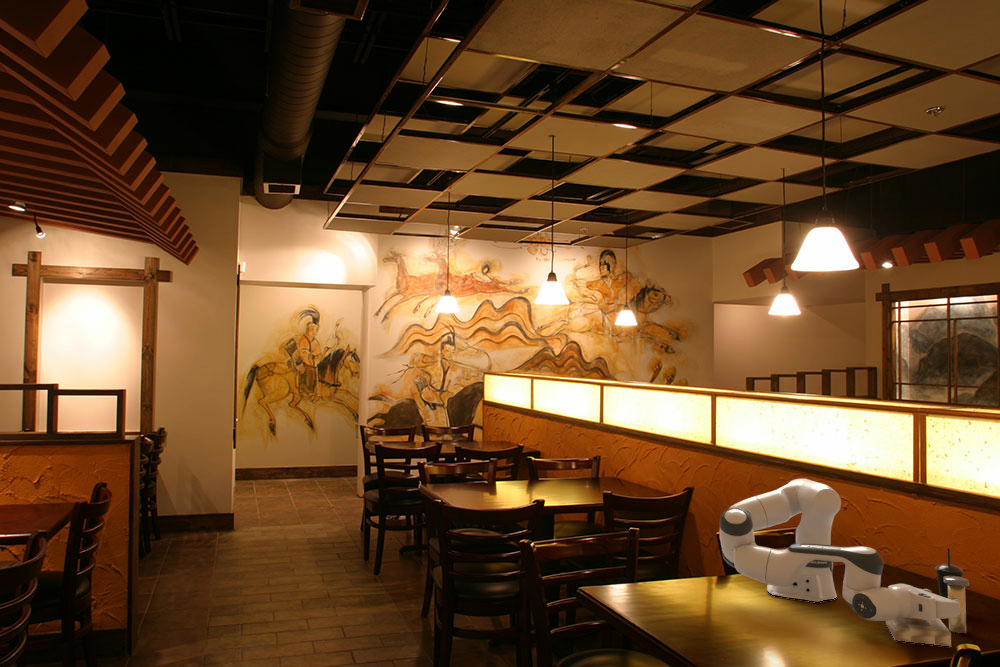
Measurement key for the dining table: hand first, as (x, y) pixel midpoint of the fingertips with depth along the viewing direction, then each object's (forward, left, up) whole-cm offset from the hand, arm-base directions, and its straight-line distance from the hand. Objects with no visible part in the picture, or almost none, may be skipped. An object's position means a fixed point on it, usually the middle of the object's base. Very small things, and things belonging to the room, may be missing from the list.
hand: (943, 597), depth 211 cm
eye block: (-8, -5, -10) cm, 14 cm away
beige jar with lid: (+4, +3, -10) cm, 12 cm away
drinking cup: (+7, +23, -11) cm, 26 cm away
